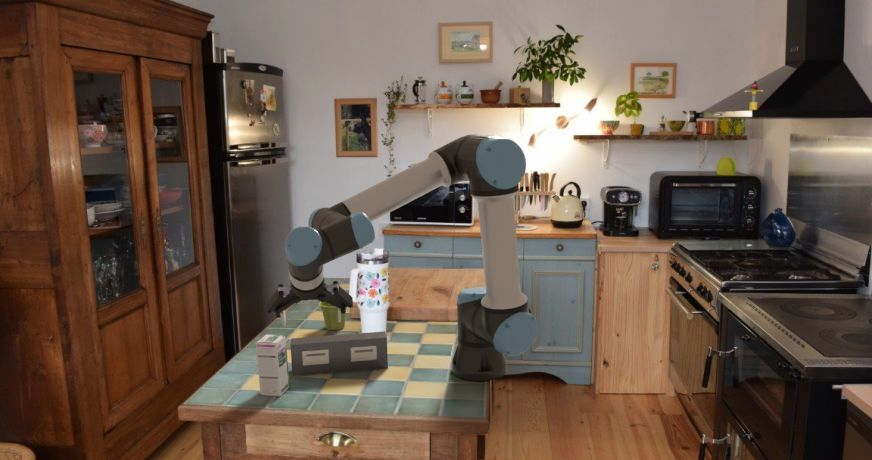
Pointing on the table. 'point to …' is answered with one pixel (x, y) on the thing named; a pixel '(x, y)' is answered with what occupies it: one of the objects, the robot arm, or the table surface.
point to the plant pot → (332, 316)
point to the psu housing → (339, 353)
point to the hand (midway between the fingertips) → (312, 319)
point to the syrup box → (272, 365)
